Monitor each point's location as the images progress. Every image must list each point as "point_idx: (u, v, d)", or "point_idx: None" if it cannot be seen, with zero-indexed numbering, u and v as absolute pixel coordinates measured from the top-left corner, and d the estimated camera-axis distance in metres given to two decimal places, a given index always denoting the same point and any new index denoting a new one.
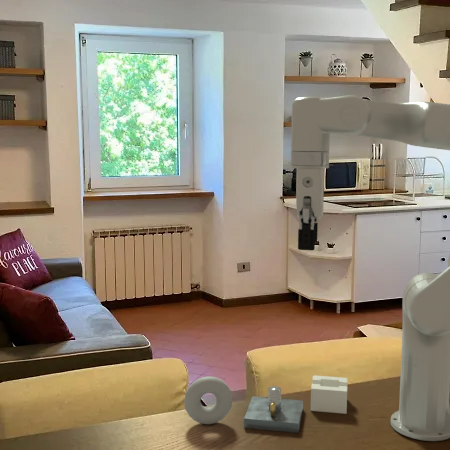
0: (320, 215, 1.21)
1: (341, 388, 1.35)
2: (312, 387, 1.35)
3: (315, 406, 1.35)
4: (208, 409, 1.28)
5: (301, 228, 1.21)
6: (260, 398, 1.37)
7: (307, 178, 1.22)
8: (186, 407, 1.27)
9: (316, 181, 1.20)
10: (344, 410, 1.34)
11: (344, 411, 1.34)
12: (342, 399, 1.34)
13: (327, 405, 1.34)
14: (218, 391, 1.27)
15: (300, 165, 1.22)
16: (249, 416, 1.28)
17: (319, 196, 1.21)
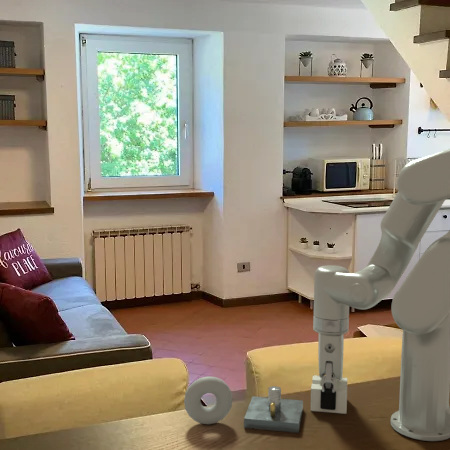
0: (341, 377, 1.32)
1: (341, 388, 1.35)
2: (312, 387, 1.35)
3: (315, 406, 1.35)
4: (208, 409, 1.28)
5: (323, 391, 1.33)
6: (260, 398, 1.37)
7: (329, 343, 1.33)
8: (186, 407, 1.27)
9: (337, 347, 1.31)
10: (344, 410, 1.34)
11: (344, 411, 1.34)
12: (342, 399, 1.34)
13: None
14: (218, 391, 1.27)
15: (322, 331, 1.33)
16: (249, 416, 1.28)
17: (340, 361, 1.32)
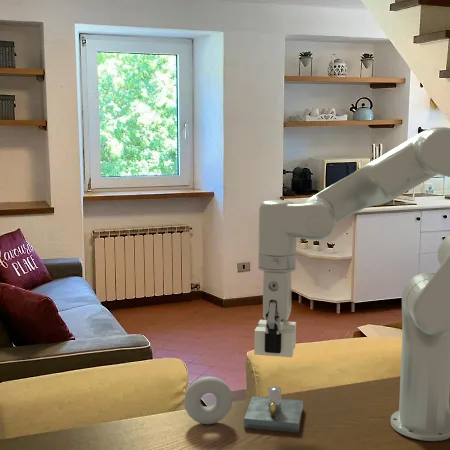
0: (286, 318, 1.24)
1: (287, 330, 1.26)
2: (256, 329, 1.27)
3: (259, 350, 1.26)
4: (208, 409, 1.28)
5: (267, 332, 1.24)
6: (260, 398, 1.37)
7: (273, 281, 1.24)
8: (186, 407, 1.27)
9: (282, 285, 1.23)
10: (289, 353, 1.25)
11: (289, 354, 1.25)
12: (287, 341, 1.25)
13: None
14: (218, 391, 1.27)
15: (266, 268, 1.24)
16: (249, 416, 1.28)
17: (285, 300, 1.23)
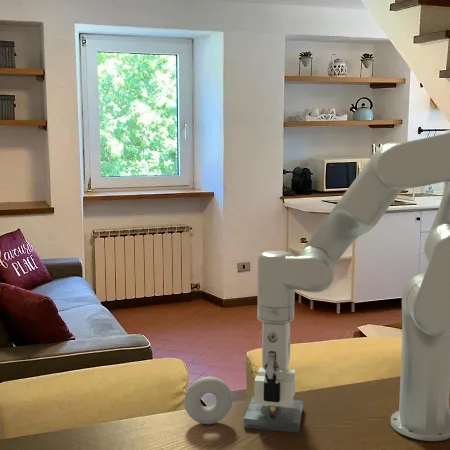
0: (285, 369, 1.25)
1: (286, 380, 1.27)
2: (256, 379, 1.28)
3: (259, 399, 1.28)
4: (208, 409, 1.28)
5: (266, 382, 1.25)
6: None
7: (272, 333, 1.25)
8: (186, 407, 1.27)
9: (281, 337, 1.24)
10: (289, 403, 1.27)
11: (289, 404, 1.27)
12: (287, 392, 1.26)
13: None
14: (218, 391, 1.27)
15: (265, 320, 1.26)
16: (249, 416, 1.28)
17: (284, 351, 1.24)
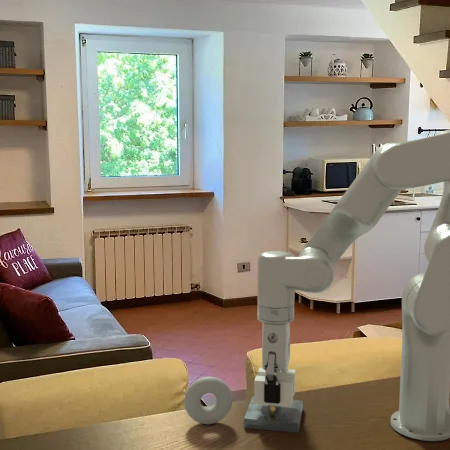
0: (285, 369, 1.25)
1: (286, 380, 1.27)
2: (256, 379, 1.28)
3: (259, 399, 1.28)
4: (208, 409, 1.28)
5: (267, 383, 1.25)
6: None
7: (272, 333, 1.25)
8: (186, 407, 1.27)
9: (280, 337, 1.24)
10: (289, 403, 1.27)
11: (289, 404, 1.27)
12: (287, 392, 1.26)
13: None
14: (218, 391, 1.27)
15: (265, 320, 1.26)
16: (249, 416, 1.28)
17: (283, 352, 1.24)
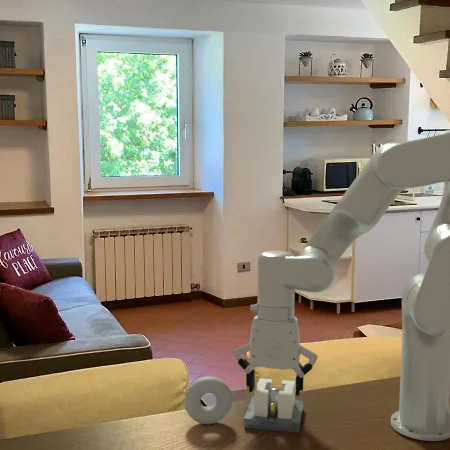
0: (251, 363, 1.28)
1: (261, 390, 1.29)
2: (262, 379, 1.35)
3: None
4: (208, 409, 1.28)
5: None
6: None
7: None
8: (186, 407, 1.27)
9: (251, 330, 1.28)
10: (254, 411, 1.29)
11: (254, 412, 1.29)
12: None
13: None
14: (218, 391, 1.27)
15: None
16: (249, 416, 1.28)
17: (250, 345, 1.28)
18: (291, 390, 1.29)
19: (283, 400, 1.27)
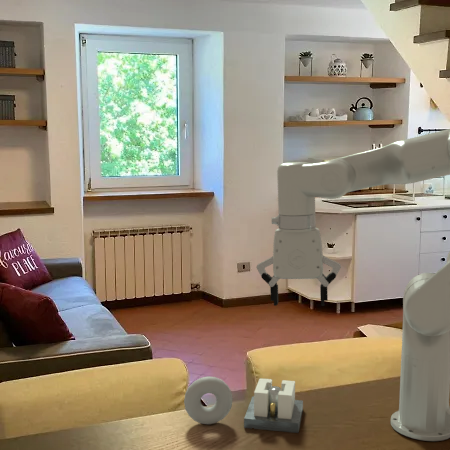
0: (275, 274, 1.29)
1: (261, 390, 1.29)
2: (262, 379, 1.35)
3: None
4: (208, 409, 1.28)
5: None
6: None
7: None
8: (186, 407, 1.27)
9: (274, 242, 1.29)
10: (254, 411, 1.29)
11: (254, 412, 1.29)
12: None
13: None
14: (218, 391, 1.27)
15: None
16: (249, 416, 1.28)
17: (273, 256, 1.28)
18: (291, 390, 1.29)
19: (283, 400, 1.27)
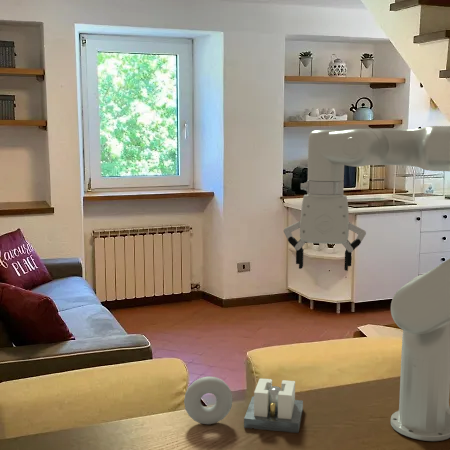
0: (301, 238, 1.33)
1: (261, 390, 1.29)
2: (262, 379, 1.35)
3: None
4: (208, 409, 1.28)
5: None
6: None
7: None
8: (186, 407, 1.27)
9: (302, 207, 1.33)
10: (254, 411, 1.29)
11: (254, 412, 1.29)
12: None
13: None
14: (218, 391, 1.27)
15: None
16: (249, 416, 1.28)
17: (301, 221, 1.32)
18: (291, 390, 1.29)
19: (283, 400, 1.27)
